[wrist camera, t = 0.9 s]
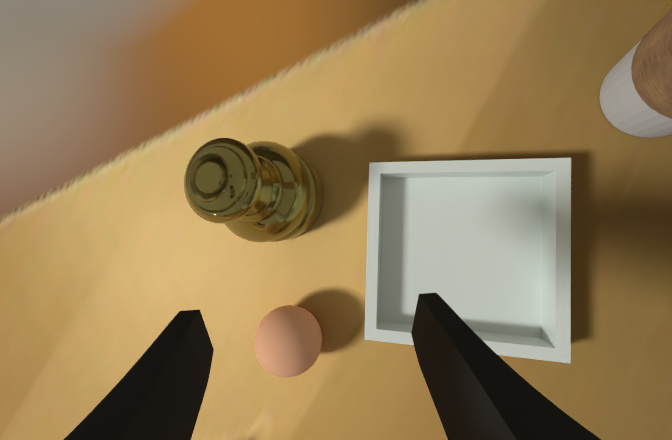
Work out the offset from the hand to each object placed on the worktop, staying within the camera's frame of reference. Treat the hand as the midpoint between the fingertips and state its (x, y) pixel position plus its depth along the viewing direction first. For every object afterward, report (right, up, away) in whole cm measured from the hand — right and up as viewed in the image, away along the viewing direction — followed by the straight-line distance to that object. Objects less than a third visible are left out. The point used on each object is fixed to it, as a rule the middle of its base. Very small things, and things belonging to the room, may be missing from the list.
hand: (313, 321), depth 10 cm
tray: (+10, +1, +12) cm, 16 cm away
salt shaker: (-4, +5, +16) cm, 17 cm away
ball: (-2, -6, +15) cm, 16 cm away
